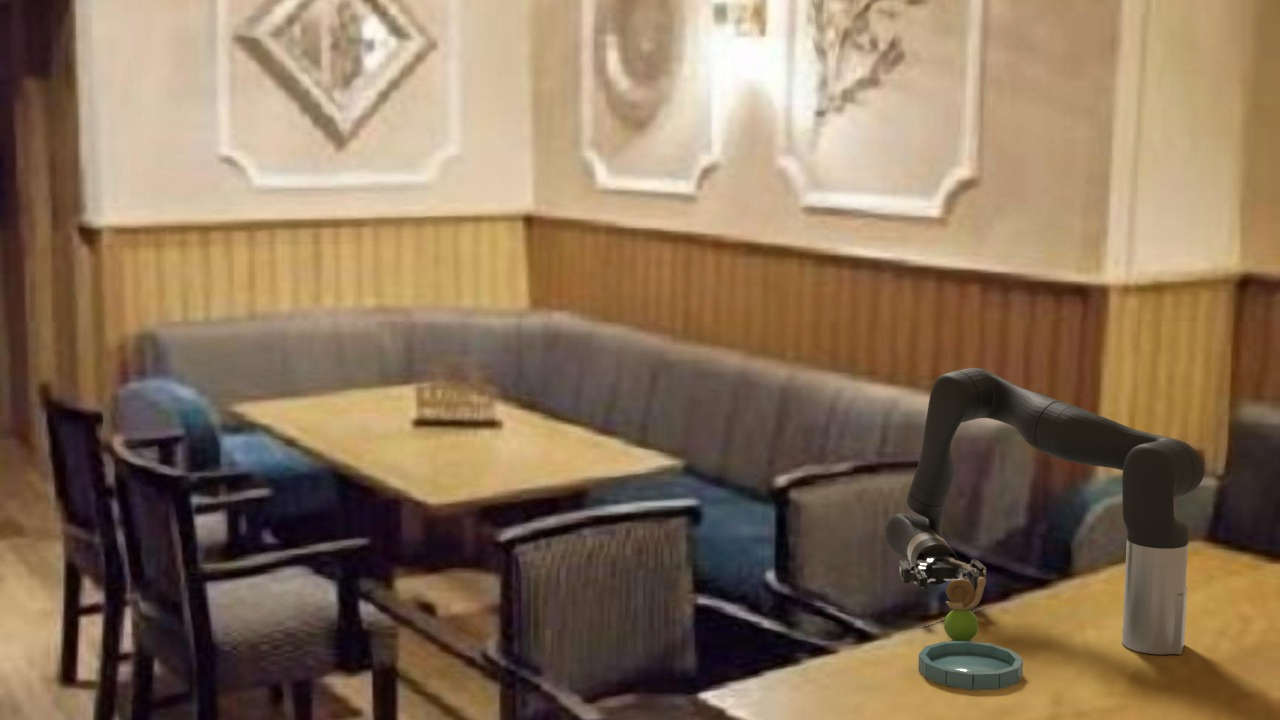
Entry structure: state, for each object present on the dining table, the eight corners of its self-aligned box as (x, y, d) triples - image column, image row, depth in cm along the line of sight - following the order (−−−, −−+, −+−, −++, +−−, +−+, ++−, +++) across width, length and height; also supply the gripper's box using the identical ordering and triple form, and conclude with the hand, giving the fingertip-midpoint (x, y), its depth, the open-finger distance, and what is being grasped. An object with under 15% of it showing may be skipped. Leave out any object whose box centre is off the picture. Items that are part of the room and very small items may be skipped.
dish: (1029, 663, 235) (1029, 648, 235) (1010, 695, 221) (1011, 679, 221) (932, 650, 241) (933, 636, 241) (909, 680, 227) (909, 665, 227)
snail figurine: (984, 648, 242) (986, 575, 240) (943, 645, 243) (945, 573, 242) (983, 637, 247) (986, 565, 246) (943, 635, 249) (945, 563, 247)
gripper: (892, 537, 271) (909, 562, 254) (971, 536, 271) (993, 561, 255) (891, 578, 272) (908, 605, 256) (970, 577, 272) (992, 605, 256)
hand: (950, 583), depth 255 cm, fingers open, 8 cm apart
